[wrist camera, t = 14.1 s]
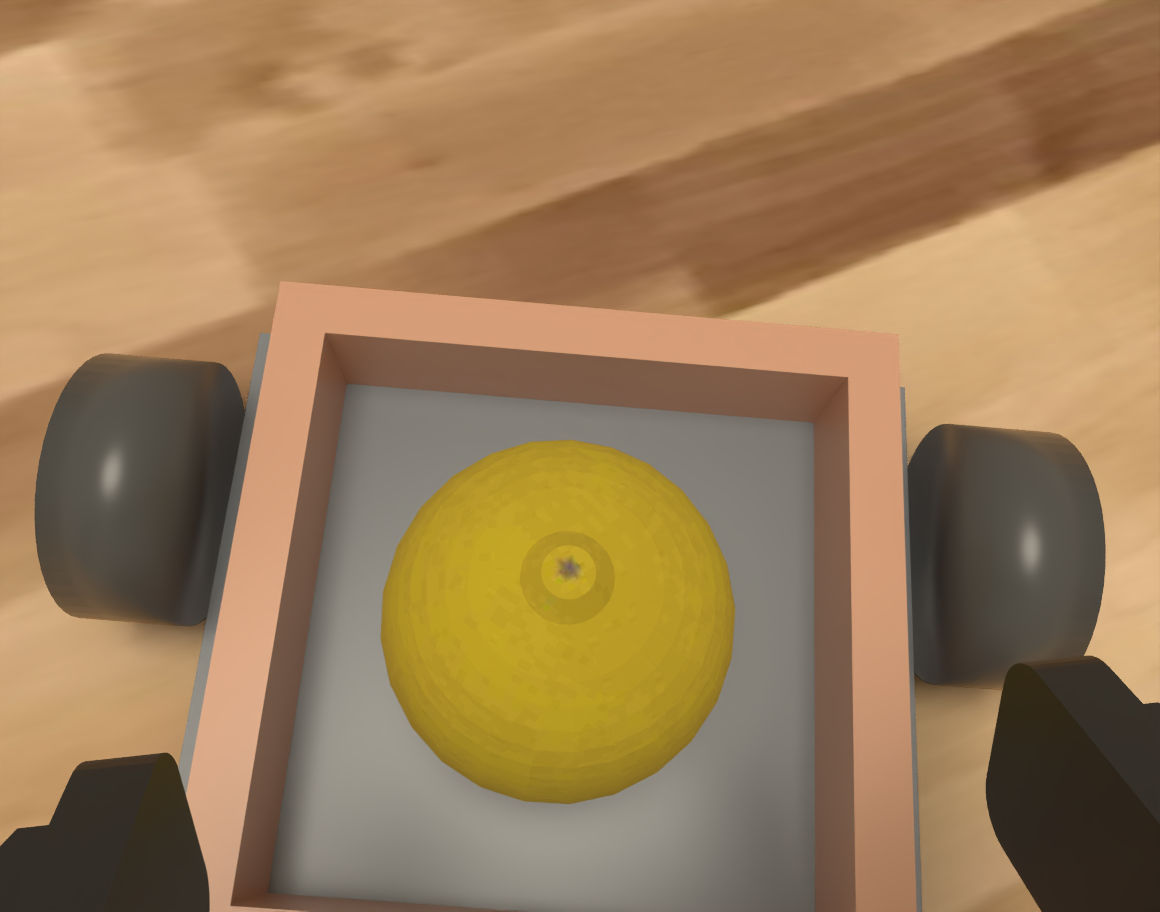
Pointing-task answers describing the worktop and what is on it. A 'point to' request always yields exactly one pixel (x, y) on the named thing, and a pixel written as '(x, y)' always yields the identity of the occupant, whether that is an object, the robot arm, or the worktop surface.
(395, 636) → the lemon
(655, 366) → the chassis
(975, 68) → the worktop surface
